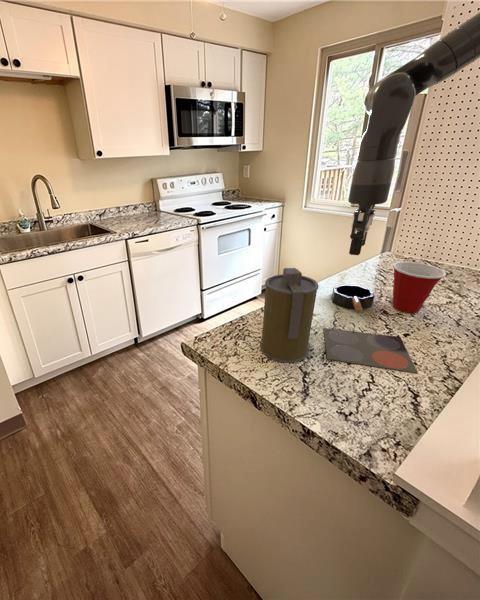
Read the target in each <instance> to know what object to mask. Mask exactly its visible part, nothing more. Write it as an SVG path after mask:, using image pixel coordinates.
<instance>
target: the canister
mask: <svg viewBox="0 0 480 600" xmlns="http://www.w3.org/2000/svg"><path fill="white" fill-rule="evenodd" d="M282 271H283V272H282V274H276V275H273V276H269V277H268V278H266V280H265V282H264V284H265V292H264V293H265V294H264V303H263V304H264V306H263V320H262V332H261V343H260V345H259V347H260V351H261V352H262V353H263V354H264V356H266V357H268V358H269V359H271V360H273V361H276V362H281V363H289V364H292V363H299V362H301V361H303V360H305V359H306V358H307V357H308V354H309V350H308V349H309V341H310V335H311V328H312V324H313V323H312V322H313V317H314V310H315V305H316V298H317V293H318V290H319V282H318V281H316V280H315V279H313V278H311V277H309V276H305V275H303V272H301V270H299V269H298V268H296V267H284V268H283V270H282Z"/></svg>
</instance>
